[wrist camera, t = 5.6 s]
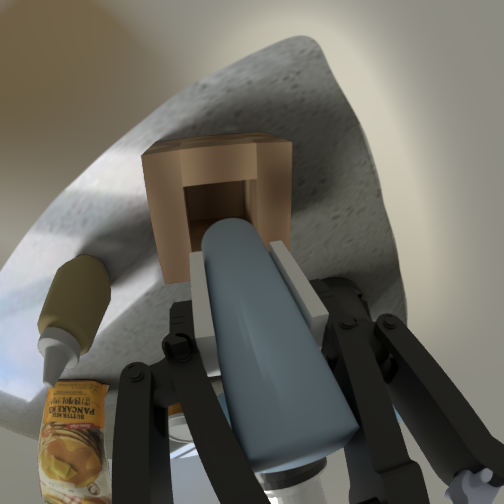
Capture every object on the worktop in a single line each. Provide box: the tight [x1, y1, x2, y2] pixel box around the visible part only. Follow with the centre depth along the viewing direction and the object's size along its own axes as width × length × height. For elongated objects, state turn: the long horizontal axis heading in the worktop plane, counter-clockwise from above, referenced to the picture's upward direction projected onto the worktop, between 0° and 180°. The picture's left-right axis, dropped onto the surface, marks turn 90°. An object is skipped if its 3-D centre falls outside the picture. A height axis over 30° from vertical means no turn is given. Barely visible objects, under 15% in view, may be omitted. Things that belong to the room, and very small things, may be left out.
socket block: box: [141, 132, 292, 284], centre depth 27 cm, size 12×12×9 cm
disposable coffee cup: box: [168, 402, 194, 443], centre depth 41 cm, size 10×10×12 cm
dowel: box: [201, 218, 360, 473], centre depth 13 cm, size 4×4×14 cm
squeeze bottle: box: [37, 255, 111, 388], centre depth 24 cm, size 8×8×18 cm
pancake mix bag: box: [38, 380, 112, 504], centre depth 31 cm, size 7×19×28 cm, turn 94°
